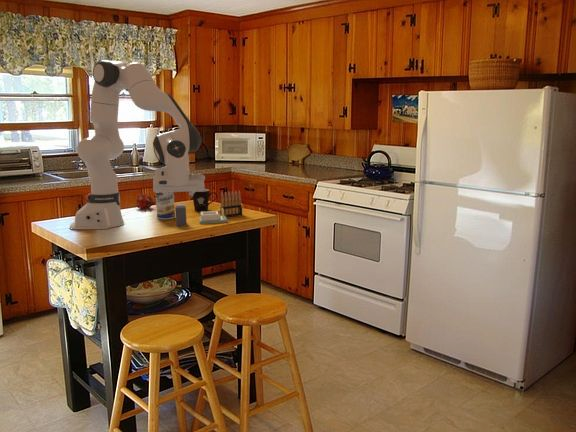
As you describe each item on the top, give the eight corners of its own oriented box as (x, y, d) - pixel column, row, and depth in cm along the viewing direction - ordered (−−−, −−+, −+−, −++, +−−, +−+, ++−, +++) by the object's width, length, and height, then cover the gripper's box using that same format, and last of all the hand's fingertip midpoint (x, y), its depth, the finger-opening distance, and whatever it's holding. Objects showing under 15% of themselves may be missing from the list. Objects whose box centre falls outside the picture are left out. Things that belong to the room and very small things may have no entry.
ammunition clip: (240, 214, 264) (239, 189, 261) (242, 215, 262) (241, 190, 260) (220, 217, 258) (219, 191, 256) (222, 217, 256) (221, 192, 254)
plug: (176, 226, 240) (175, 205, 238) (176, 224, 244) (175, 204, 242) (186, 225, 241) (185, 205, 239) (186, 223, 245) (185, 203, 243)
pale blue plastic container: (200, 223, 244) (199, 212, 243) (199, 219, 254) (198, 208, 253) (227, 222, 246) (227, 211, 245) (225, 218, 256) (225, 207, 255)
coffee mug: (189, 211, 273) (188, 191, 271) (197, 208, 281) (196, 188, 279) (211, 212, 270) (210, 192, 268) (218, 209, 278) (217, 189, 276)
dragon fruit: (142, 209, 288) (150, 216, 279) (129, 201, 283) (136, 208, 273) (151, 196, 289) (160, 202, 279) (138, 187, 283) (146, 194, 274)
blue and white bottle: (175, 215, 263) (172, 173, 259) (175, 219, 255) (173, 175, 251) (156, 216, 261) (154, 174, 257) (156, 220, 253) (154, 176, 249)
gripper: (204, 167, 220) (204, 188, 231) (151, 169, 216) (154, 190, 228) (205, 180, 217) (205, 200, 228) (151, 182, 213) (154, 202, 224)
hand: (179, 195), depth 228 cm, fingers open, 8 cm apart
